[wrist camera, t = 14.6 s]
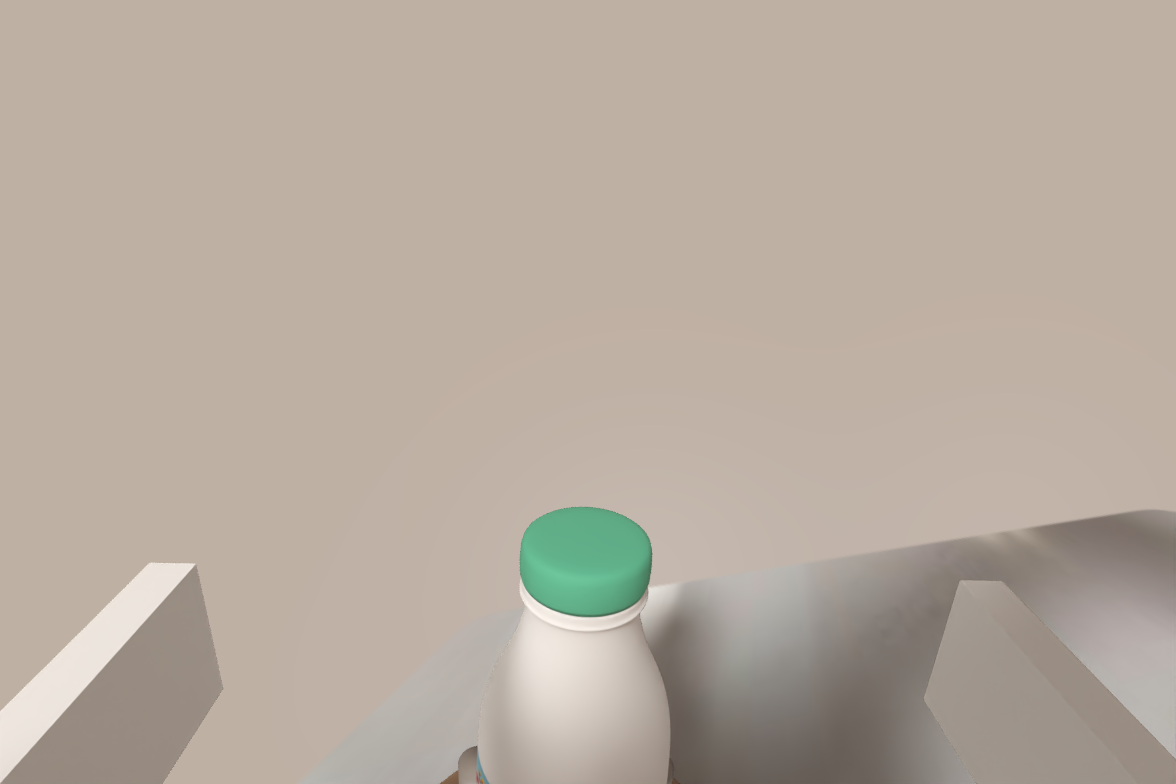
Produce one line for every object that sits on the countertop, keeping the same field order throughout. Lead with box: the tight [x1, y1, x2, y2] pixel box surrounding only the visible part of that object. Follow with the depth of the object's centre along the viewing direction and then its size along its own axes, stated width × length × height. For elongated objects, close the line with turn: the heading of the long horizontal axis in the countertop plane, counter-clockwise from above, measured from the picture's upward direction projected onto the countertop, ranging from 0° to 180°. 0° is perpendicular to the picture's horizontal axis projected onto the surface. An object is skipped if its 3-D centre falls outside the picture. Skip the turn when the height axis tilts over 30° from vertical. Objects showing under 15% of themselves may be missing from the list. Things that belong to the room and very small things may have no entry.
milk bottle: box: [477, 507, 671, 784], centre depth 26 cm, size 8×8×20 cm
